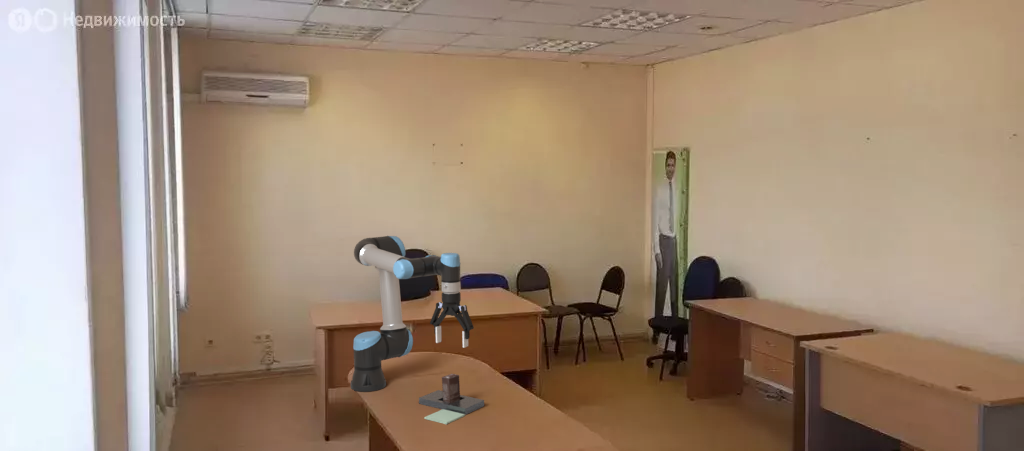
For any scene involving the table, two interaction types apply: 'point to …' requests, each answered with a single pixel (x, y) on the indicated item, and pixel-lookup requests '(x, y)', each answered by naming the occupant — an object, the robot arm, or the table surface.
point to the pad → (444, 416)
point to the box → (451, 388)
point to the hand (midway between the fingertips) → (451, 344)
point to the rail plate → (462, 406)
